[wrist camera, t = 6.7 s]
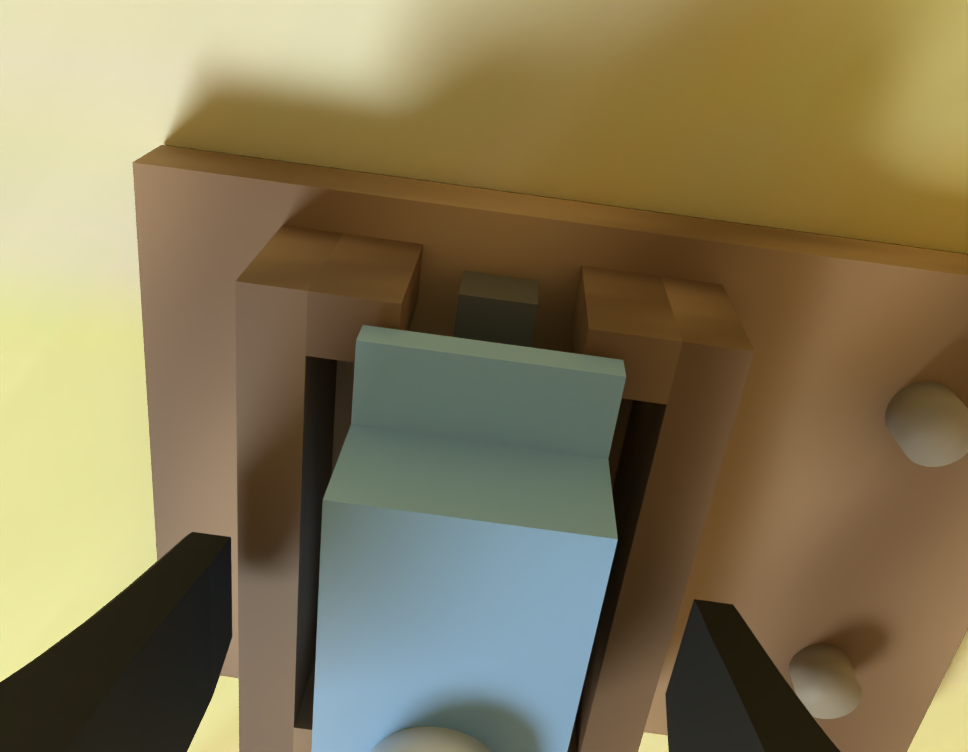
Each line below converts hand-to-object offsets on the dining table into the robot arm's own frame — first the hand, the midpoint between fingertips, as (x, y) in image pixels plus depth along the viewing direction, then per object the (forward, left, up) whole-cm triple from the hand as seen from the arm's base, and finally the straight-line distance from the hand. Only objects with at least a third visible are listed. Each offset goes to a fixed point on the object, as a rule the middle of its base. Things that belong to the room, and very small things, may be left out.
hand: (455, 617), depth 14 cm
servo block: (0, 0, -3) cm, 3 cm away
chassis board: (-2, -1, -4) cm, 5 cm away
